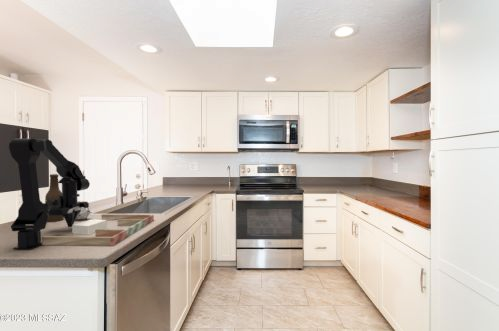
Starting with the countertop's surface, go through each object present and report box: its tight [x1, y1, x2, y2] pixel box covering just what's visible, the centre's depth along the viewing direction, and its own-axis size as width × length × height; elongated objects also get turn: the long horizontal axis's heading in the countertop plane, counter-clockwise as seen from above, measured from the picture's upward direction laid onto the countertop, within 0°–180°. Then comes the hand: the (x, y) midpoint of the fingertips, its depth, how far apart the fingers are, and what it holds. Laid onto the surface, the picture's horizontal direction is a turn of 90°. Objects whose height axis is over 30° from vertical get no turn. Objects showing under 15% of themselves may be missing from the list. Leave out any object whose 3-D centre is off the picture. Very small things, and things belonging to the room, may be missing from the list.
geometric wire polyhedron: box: [75, 207, 92, 222], centre depth 140 cm, size 9×8×10 cm
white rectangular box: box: [71, 218, 108, 236], centre depth 120 cm, size 11×8×4 cm
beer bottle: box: [44, 173, 65, 223], centre depth 138 cm, size 8×8×24 cm
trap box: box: [41, 213, 155, 247], centre depth 120 cm, size 40×27×3 cm
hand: (70, 227), depth 120 cm, fingers closed
